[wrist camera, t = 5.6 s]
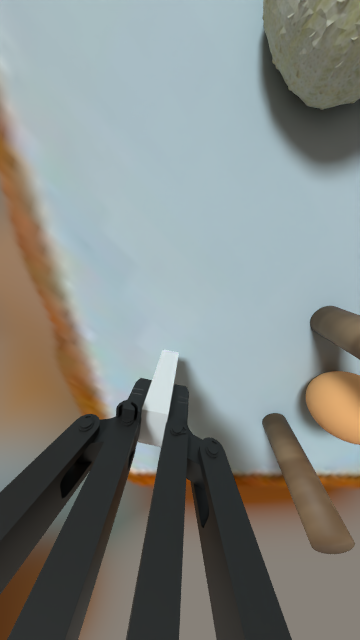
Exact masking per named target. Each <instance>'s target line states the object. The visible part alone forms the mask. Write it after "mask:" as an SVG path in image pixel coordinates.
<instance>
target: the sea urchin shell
mask: <svg viewBox="0 0 360 640" xmlns="http://www.w3.org/2000/svg"><path fill="white" fill-rule="evenodd" d="M263 20H264V29H265V33H266V36H267V39H268V43H269V48H270V52H271V54H272V62H273V63H274V64H275V65H276V69H278V70H279V71H280V73H281V74H282V76H283V79H284V81H285V83H286V84H287V85H288V89H289V90H291V91H292V92H293V93H294V94H296V95H297V96H298V97H299V98H300V99H301V100H302V101H303V102H304V103H305V104H306V105H307V106H310V107H314V108H320V109H321V110H323V109H325V108H331V107H335V106H338V105H342V104H348V103H355V102H356V101H357V100H358V99H360V0H264V1H263Z"/></svg>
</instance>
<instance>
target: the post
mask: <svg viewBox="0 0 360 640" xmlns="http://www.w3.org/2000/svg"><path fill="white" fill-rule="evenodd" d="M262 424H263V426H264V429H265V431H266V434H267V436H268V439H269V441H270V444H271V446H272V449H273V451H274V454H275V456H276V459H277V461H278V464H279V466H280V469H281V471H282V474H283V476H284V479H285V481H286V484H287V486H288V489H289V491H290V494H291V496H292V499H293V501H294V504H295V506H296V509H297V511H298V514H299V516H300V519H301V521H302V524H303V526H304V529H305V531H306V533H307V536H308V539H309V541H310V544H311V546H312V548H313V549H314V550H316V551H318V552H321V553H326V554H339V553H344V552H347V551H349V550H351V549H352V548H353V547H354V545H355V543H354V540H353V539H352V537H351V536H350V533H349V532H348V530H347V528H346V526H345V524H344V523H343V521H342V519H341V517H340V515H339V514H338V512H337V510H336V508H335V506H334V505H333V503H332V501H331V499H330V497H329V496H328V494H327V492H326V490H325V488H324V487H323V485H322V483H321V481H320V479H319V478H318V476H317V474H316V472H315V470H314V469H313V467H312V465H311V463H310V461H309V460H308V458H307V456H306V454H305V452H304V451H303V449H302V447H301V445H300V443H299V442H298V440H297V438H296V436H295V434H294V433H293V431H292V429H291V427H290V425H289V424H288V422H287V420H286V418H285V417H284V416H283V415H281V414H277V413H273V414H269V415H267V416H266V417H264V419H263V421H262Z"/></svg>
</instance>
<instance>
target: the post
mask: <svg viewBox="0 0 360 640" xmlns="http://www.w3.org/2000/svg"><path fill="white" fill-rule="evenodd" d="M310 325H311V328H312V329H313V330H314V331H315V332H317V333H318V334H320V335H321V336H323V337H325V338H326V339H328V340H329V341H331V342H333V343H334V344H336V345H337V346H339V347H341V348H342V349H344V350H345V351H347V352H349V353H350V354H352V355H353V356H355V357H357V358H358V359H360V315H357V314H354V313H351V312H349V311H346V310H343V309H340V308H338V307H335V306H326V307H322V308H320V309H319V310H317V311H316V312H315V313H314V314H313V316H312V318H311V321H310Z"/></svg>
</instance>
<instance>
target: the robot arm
mask: <svg viewBox="0 0 360 640" xmlns="http://www.w3.org/2000/svg"><path fill="white" fill-rule="evenodd" d="M178 356H179V353H178V352H173V351H168V350H163V351H162V354H161V356H160V359H159V362H158V365H157V368H156V371H155V373H154V376H153V379H152V380H148V379H143V378H140V379H139V380H138V381H137V382H136V383H135V385H134V387H133V389H132V391H131V394H130V396H129V398H128V400H126V401H123V402H121V403H119V405H118V406H117V409H116V417H114V418H110V419H103V420H99V417H97V416H96V415H93V414H86V415H84V416H81V417H80V418H78V419H77V420H76V421H75V422H74V423H73V424H72V425H71V426H70V427H68V428H67V429H66V430H65V431H64V432H63V433H62V434H61V435H60V436H59V437H58V438H57V439H56V440H55V441H54V442H53V443H52V444H51V445H49V446H48V447H47V448H46V450H44V451H43V452H42V453H41V454H40V455H39V456H38V457H37V458H36V459H35V460H34V461H33V462H32V463H31V464H30V465H28V467H26V468H25V469H24V470H23V471H22V472H21V473H20V474H19V475H18V476H17V477H16V478H15V479H14V480H13V481H12V482H11V483H10V484H9V485H7V486H6V487H5V488H4V489H3V490H2V491H1V492H0V594H1V593H2V591H3V590H4V588H5V587H6V586H7V584H8V583H9V581H10V580H11V579H12V577H13V576H14V575H15V573H16V572H17V570H18V569H19V568H20V566H21V565H22V564H23V562H24V561H25V559H26V558H27V557H28V555H29V554H30V553H31V551H32V550H33V548H34V547H35V546H36V544H37V543H38V542H39V540H40V539H41V537H42V536H43V535H44V533H45V532H46V531H47V529H48V528H49V526H50V525H51V524H52V522H53V521H54V519H55V518H56V517H57V515H58V514H59V512H60V511H61V510H62V509H63V507H64V506H65V504H66V503H67V501H68V500H69V499H70V497H71V496H72V495H73V493H74V492H75V491H76V489H77V488H78V487H79V485H80V483H81V482H82V481H83V480H84V478H85V477H86V476H87V474H88V473H89V474H88V476H87V478H86V480H85V482H84V484H83V486H82V488H81V490H80V492H79V495H78V497H77V499H76V501H75V503H74V505H73V507H72V509H71V511H70V513H69V515H68V517H67V519H66V521H65V523H64V525H63V527H62V529H61V531H60V533H59V535H58V537H57V539H56V541H55V543H54V546H53V548H52V550H51V552H50V554H49V556H48V558H47V560H46V562H45V564H44V566H43V568H42V570H41V572H40V574H39V576H38V578H37V580H36V582H35V584H34V586H33V588H32V591H31V592H30V595H29V597H28V599H27V601H26V603H25V605H24V607H23V609H22V611H21V613H20V615H19V617H18V619H17V621H16V623H15V625H14V627H13V629H12V631H11V634H10V635H9V637H8V639H7V640H78V638H79V634H80V631H81V628H82V625H83V621H84V618H85V615H86V611H87V608H88V605H89V602H90V598H91V595H92V591H93V588H94V585H95V582H96V579H97V575H98V572H99V569H100V566H101V562H102V559H103V556H104V553H105V549H106V546H107V543H108V540H109V536H110V533H111V530H112V526H113V523H114V519H115V517H116V513H117V510H118V506H119V504H120V500H121V497H122V494H123V490H124V487H125V484H126V481H127V477H128V474H129V471H130V468H131V464H132V461H133V458H134V454H135V449H136V445H137V441H138V442H140V443H145V444H150V445H155V446H159V447H161V451H160V456H159V461H158V467H157V473H156V478H155V484H154V489H153V495H152V500H151V506H150V511H149V516H148V522H147V527H146V534H145V538H144V544H143V549H142V555H141V560H140V566H139V571H138V577H137V582H136V587H135V594H134V598H133V604H132V610H131V615H130V621H129V626H128V631H127V637H126V640H179V625H180V601H181V579H182V558H183V536H184V535H183V534H184V513H185V491H186V478H187V479H188V480H190V481H191V487H192V493H193V499H194V505H195V511H196V517H197V523H198V529H199V535H200V541H201V547H202V553H203V559H204V565H205V572H206V578H207V584H208V589H209V596H210V601H211V607H212V614H213V620H214V626H215V632H216V638H217V640H292V639H291V636H290V633H289V631H288V628H287V625H286V622H285V620H284V616H283V614H282V611H281V608H280V606H279V602H278V600H277V597H276V594H275V592H274V588H273V586H272V583H271V580H270V577H269V574H268V572H267V569H266V566H265V563H264V561H263V558H262V555H261V552H260V550H259V546H258V544H257V541H256V538H255V535H254V532H253V530H252V527H251V524H250V522H249V519H248V516H247V513H246V510H245V507H244V505H243V502H242V499H241V496H240V493H239V491H238V488H237V485H236V482H235V479H234V477H233V474H232V471H231V468H230V465H229V463H228V460H227V457H226V454H225V451H224V449H223V447H222V445H221V444H220V443H219V442H218V441H217V440H215V439H213V438H205V439H204V440H202V439H200V438H198V437H196V436H195V435H193V434H192V433H191V431H190V430H189V428H188V425H187V418H188V398H189V392H188V389H187V387H185V386H180V385H175V384H174V379H175V373H176V367H177V362H178ZM89 471H90V472H89Z"/></svg>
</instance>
